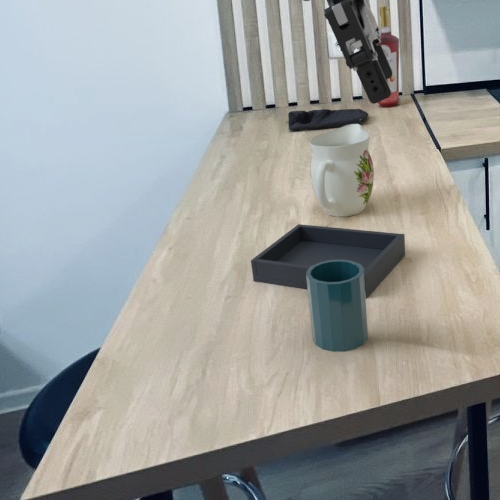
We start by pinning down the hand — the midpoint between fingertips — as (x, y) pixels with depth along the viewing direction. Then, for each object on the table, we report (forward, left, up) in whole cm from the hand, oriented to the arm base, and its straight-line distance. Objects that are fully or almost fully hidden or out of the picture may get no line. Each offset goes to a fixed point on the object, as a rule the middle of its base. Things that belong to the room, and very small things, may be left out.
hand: (383, 89), depth 69 cm
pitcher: (+22, -34, -28) cm, 49 cm away
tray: (+14, -12, -28) cm, 34 cm away
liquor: (+47, -122, -28) cm, 134 cm away
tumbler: (+3, +8, -28) cm, 29 cm away
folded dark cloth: (+56, -99, -28) cm, 117 cm away
